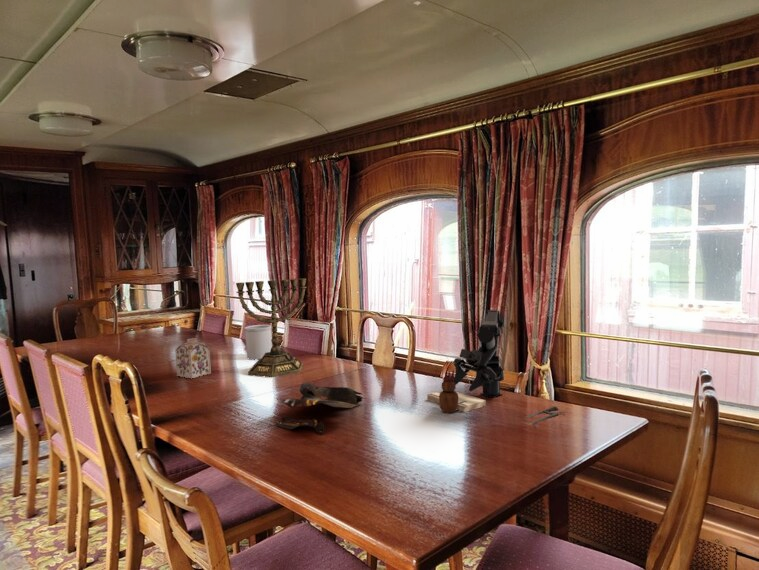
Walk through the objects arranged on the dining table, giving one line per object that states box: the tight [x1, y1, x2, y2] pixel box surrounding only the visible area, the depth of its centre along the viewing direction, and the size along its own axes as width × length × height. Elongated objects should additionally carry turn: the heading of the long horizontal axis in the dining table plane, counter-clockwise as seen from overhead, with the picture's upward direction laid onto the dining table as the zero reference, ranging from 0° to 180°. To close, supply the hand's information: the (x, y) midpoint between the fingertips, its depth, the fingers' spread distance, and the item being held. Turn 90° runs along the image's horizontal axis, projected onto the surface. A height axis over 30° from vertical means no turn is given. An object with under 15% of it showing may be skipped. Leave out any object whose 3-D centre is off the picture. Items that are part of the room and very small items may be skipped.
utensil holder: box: [243, 324, 273, 360], centre depth 286 cm, size 15×15×18 cm
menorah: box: [235, 278, 307, 378], centre depth 252 cm, size 36×25×45 cm
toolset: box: [275, 381, 367, 435], centre depth 184 cm, size 40×20×27 cm
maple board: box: [426, 390, 487, 413], centre depth 192 cm, size 11×20×2 cm, turn 36°
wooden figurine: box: [439, 370, 458, 414], centre depth 182 cm, size 7×6×15 cm
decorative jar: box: [175, 337, 212, 380], centre depth 248 cm, size 12×12×18 cm
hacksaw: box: [522, 406, 566, 431], centre depth 172 cm, size 24×10×2 cm, turn 122°
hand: (461, 387), depth 185 cm, fingers open, 9 cm apart
